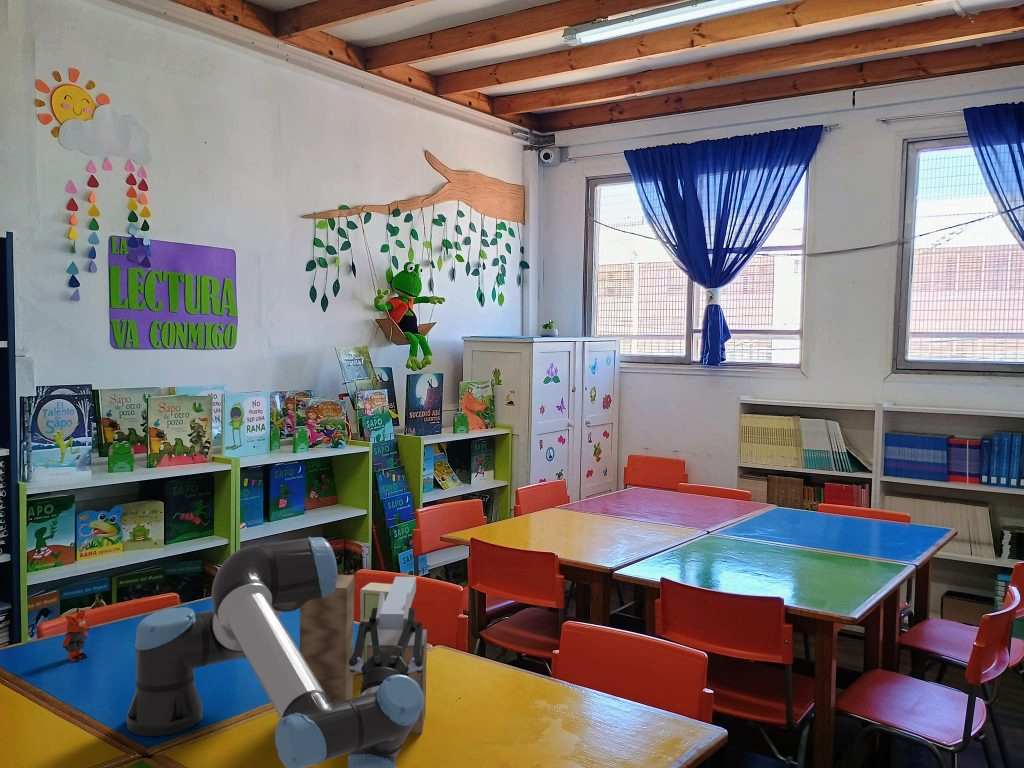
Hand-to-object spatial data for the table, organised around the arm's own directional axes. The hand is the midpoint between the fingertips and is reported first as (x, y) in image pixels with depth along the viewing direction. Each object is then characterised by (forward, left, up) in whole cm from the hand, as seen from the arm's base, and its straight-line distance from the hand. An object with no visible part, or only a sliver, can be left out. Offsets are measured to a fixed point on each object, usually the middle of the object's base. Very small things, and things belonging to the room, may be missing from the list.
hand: (395, 597), depth 165 cm
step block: (-1, +16, -33) cm, 36 cm away
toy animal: (-86, +51, -33) cm, 106 cm away
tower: (-17, +20, -33) cm, 42 cm away
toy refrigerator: (-9, +47, -33) cm, 58 cm away
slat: (0, +6, -4) cm, 8 cm away
